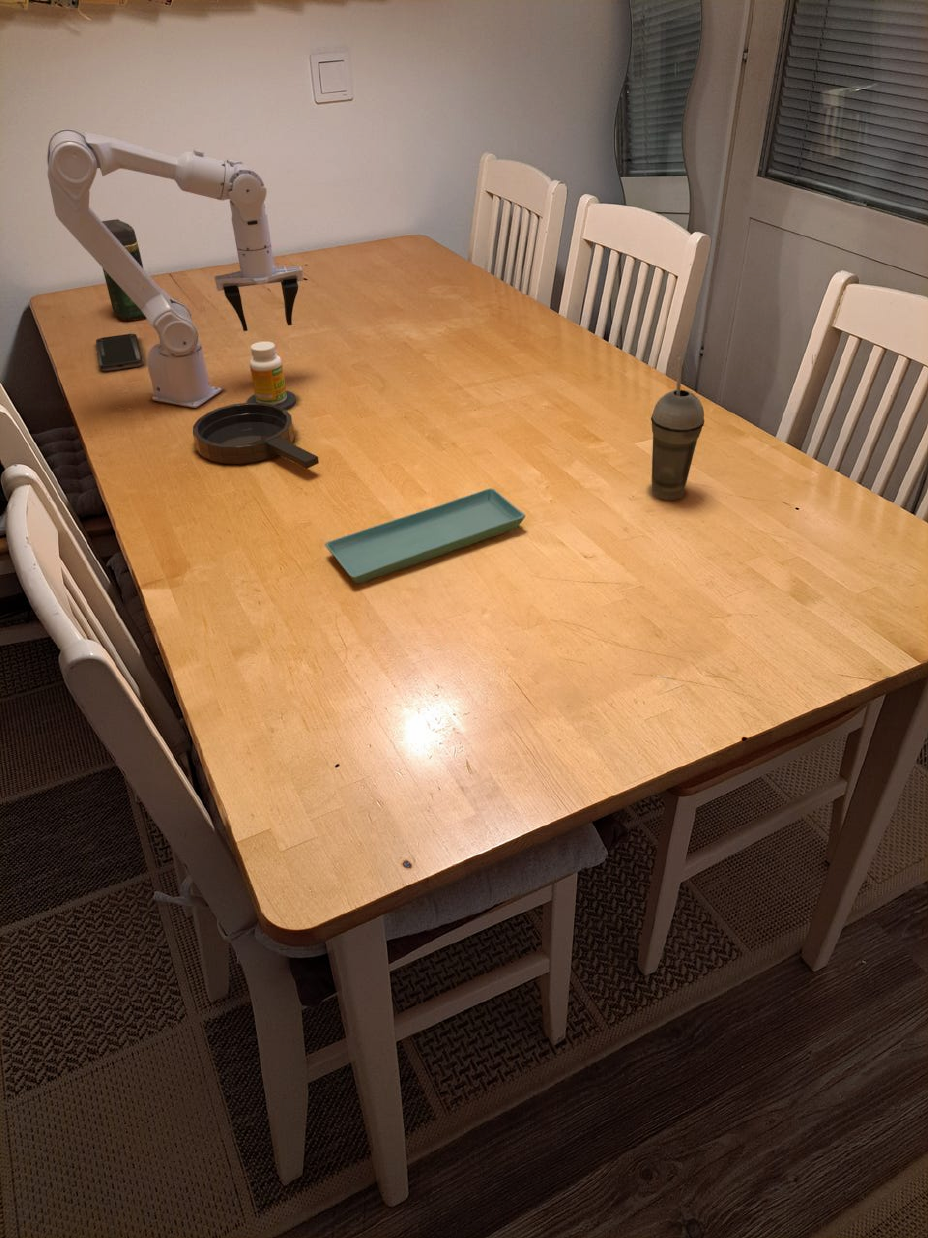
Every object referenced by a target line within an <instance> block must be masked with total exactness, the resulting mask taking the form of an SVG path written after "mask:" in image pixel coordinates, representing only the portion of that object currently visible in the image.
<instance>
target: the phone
mask: <svg viewBox="0 0 928 1238" xmlns="http://www.w3.org/2000/svg"><path fill="white" fill-rule="evenodd" d="M95 343H96V351H97V357H98V364H99V369H100V371H101V372H105V373H107V372H111V371H112V372H113V371H118V370H119V371H120V370H126V369H132V368H138V367H141V366H143V365H144V360H143V357H142V352H141V348H140V343H139V340H138V336H137V333H126V334H118V335H111V336H104V337H99V338H97V339H96V340H95Z"/></svg>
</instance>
